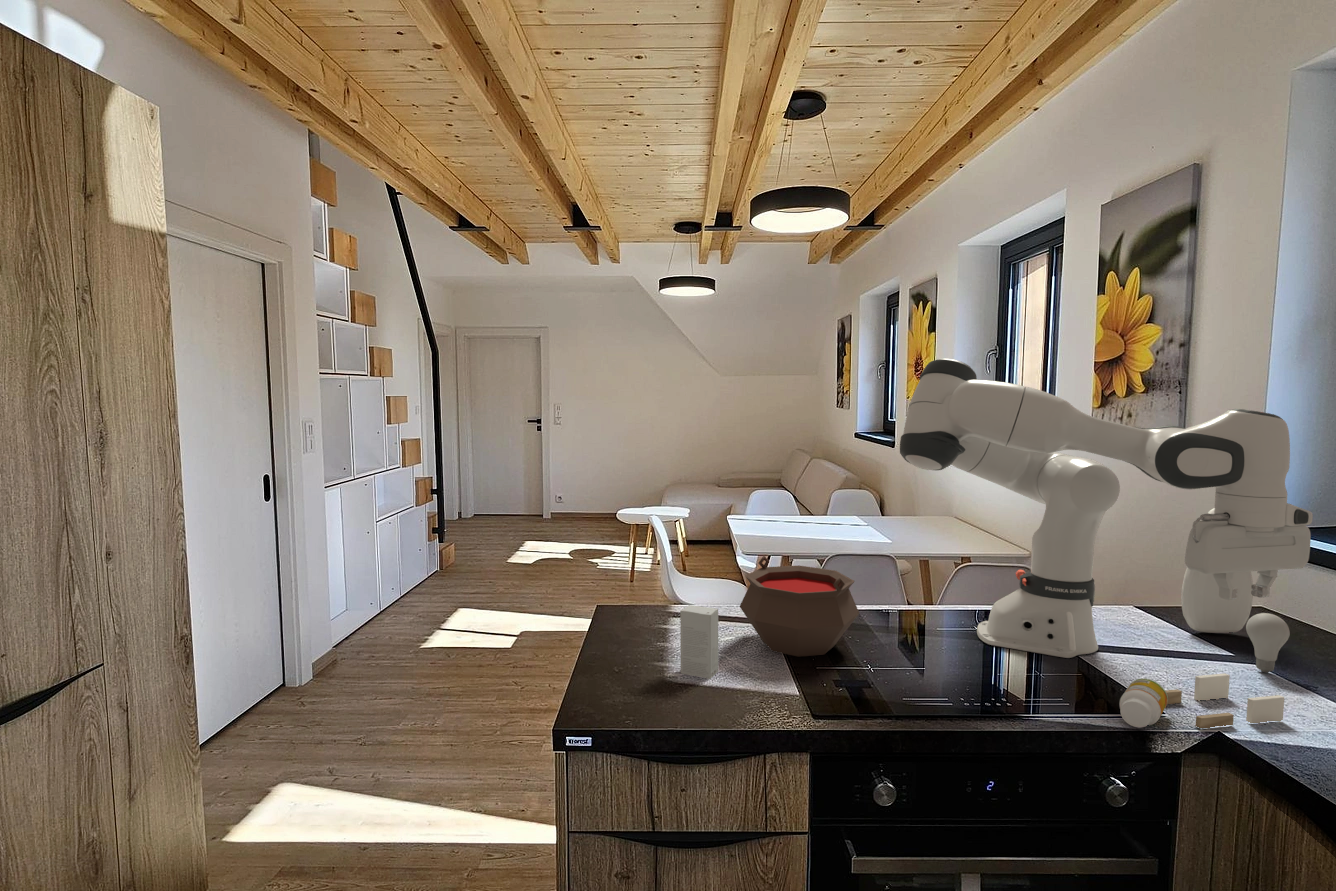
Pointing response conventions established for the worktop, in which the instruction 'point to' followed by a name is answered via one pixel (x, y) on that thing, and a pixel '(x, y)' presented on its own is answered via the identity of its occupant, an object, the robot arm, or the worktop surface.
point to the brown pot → (799, 608)
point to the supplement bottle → (1143, 702)
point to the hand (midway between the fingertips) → (1243, 597)
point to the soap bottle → (1215, 602)
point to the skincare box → (699, 641)
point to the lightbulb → (1267, 638)
